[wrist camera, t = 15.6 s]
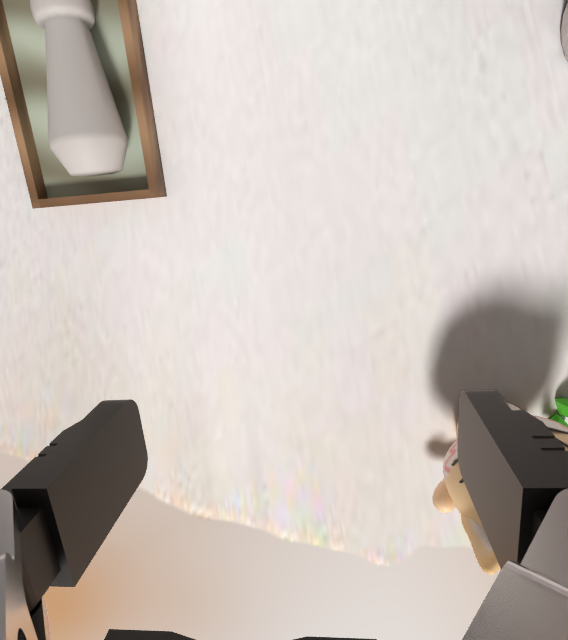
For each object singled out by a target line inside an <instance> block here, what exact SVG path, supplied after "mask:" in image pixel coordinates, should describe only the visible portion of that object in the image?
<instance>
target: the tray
mask: <svg viewBox="0 0 568 640" xmlns="http://www.w3.org/2000/svg"><path fill="white" fill-rule="evenodd" d="M91 2H92V5H93V8H94V15H95V22H94V25H93V27H92V28H91V29H89V30H90V33H91V35H92V38H93V41H94V44H95V47H96V50H97V53H98V55H99V58H100V61H101V64H102V67H103V70H104V73H105V75H106V78H107V81H108V84H109V87H110V90H111V92H112V95H113V98H114V101H115V104H116V107H117V110H118V112H119V115H120V118H121V121H122V124H123V127H124V130H125V132H126V135H127V141H128V146H127V151H126V156H125V162H124V167H123V170H122V171H119V172H117V173H114V174H108V175H99V176H71V175H70V174H69V173H68V171H67V170H66V168H65V167H64V166H63V165H62V163H61V162H60V161H59V159H58V158H57V157H56V156H55V154H54V153H53V152H52V150H51V148H50V146H49V143H48V102H47V72H46V46H45V29H43V28H41V27H40V26H39V25H38V24H37V23H36V21H35V20H34V18H33V15H32V11H31V8H30V0H0V75H1V79H2V83H3V87H4V92H5V96H6V100H7V104H8V108H9V112H10V116H11V120H12V125H13V129H14V133H15V137H16V141H17V145H18V149H19V153H20V158H21V162H22V166H23V170H24V174H25V178H26V182H27V186H28V191H29V195H30V199H31V203H32V207H33V208H44V207H55V206H66V205H77V204H88V203H100V202H111V201H122V200H133V199H145V198H156V197H165V196H167V195H166V189H165V182H164V176H163V170H162V163H161V157H160V150H159V144H158V138H157V131H156V125H155V119H154V112H153V106H152V99H151V93H150V87H149V80H148V74H147V68H146V61H145V55H144V48H143V42H142V36H141V29H140V23H139V17H138V10H137V4H136V0H91Z"/></svg>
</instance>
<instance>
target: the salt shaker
mask: <svg viewBox="0 0 568 640" xmlns="http://www.w3.org/2000/svg"><path fill="white" fill-rule="evenodd" d="M30 8H31V11H32V15H33V18H34V20H35V21H36V23H37V24H38V25H39V26H40V27H41V28H43V29H45V46H46V72H47V102H48V143H49V146H50V148H51V150H52V152H53V153H54V154H55V156H56V157H57V158H58V159H59V161H60V162H61V163H62V165H63V166H64V167H65V168H66V170H67V171H68V173H69V174H70V175H71V176H99V175H108V174H114V173H117V172H119V171H122V170H123V167H124V162H125V156H126V151H127V146H128V141H127V135H126V132H125V130H124V127H123V124H122V121H121V118H120V115H119V112H118V110H117V107H116V104H115V101H114V98H113V95H112V92H111V90H110V87H109V84H108V81H107V78H106V75H105V73H104V70H103V67H102V64H101V61H100V58H99V55H98V53H97V50H96V47H95V44H94V41H93V38H92V35H91V33H90V30H89V29H91V28H92V27H93V25H94V22H95V15H94V8H93V5H92V2H91V0H30Z"/></svg>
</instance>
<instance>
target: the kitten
mask: <svg viewBox="0 0 568 640" xmlns="http://www.w3.org/2000/svg"><path fill="white" fill-rule="evenodd" d="M555 401H556V405H557V409H558V413H559V414H561V415H563V416H566V417H568V400H567V399H566V398H557V399H555ZM505 402H506V401H505ZM506 403H507V402H506ZM507 404H508V406H509V407H510V408H511V410H521V409H519V408H518V407H516V406H515V405H512V404H510V403H507ZM534 417H536V418H537V419H539V420H541V421H543V422H544V424H545V425H546V426H547V427H548V428H549V430H550V431H551V432H552V433H553V434H554V435H555V439H558V440H559V441H560V442H561V444H562V445H563V446H564V447H565V451H568V424H567V423H566V422H565V421H564V420H563V419H562V418H561V417H560V416H559V415H558V414H556V413H555V415H554V416H553V417H552V418H550V419H547V418H544V417H539V416H534ZM456 434H457V440H456V441H455V442H454V443H453V444H452V446H451V447H450V448H449V450H448V452H447V454H446V456H445V459H444V464H443V474H444V479H443V480H442V481H441V482H440V483H439V484H438V486H437V487H436V489H435V490H434V493H433V504H434V506H435V507H436V509H437V510H439V511H440V512H443V513H449V512H451V511H453V509H454V508H455V506H456V508H457V509H458V511H459V513H460V514H461V520H462V524H463V527H464V529H465V531H466V533H467V535H468V537H469V539H470V542H471V545H472V547H473V550H474V553H475V556H476V558H477V560H478V563H479V565H480V567H481V568H482V570H483V571H484V572H485V573H487V574H495V573H496V572H497V571H498V570H499V569H501V568H500V566H499V563H498V561H497V559H496V556H495V554H494V552H493V549H492V547H491V545H490V542H489V540H488V537H487V535H486V533H485V530H484V528H483V526H482V523H481V521H480V519H479V516H478V514H477V511H476V509H475V507H474V504H473V502H472V500H471V497H470V495H469V493H468V490H467V488H466V486H465V483H464V481H463V478H462V476H461V473H460V468H459V463H458V452H457V446H458V423H457V427H456Z"/></svg>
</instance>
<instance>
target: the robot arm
mask: <svg viewBox="0 0 568 640" xmlns="http://www.w3.org/2000/svg"><path fill="white" fill-rule="evenodd" d="M561 38H562V47H563V50H564V54H565V57H566V59H567V61H568V2H567V5H566V8H565V10H564V13H563V20H562V26H561ZM457 452H458V463H459V468H460V473H461V476H462V478H463V481H464V483H465V486H466V488H467V490H468V493H469V495H470V497H471V500H472V502H473V504H474V507H475V509H476V511H477V514H478V516H479V519H480V521H481V523H482V526H483V528H484V530H485V533H486V535H487V537H488V540H489V542H490V545H491V547H492V549H493V552H494V554H495V556H496V559H497V561H498V563H499V566H500V568H501V571H500V573H499V575H498V576H497V578H496V580H495V582H494V584H493V585H492V587H491V589H490V591H489V592H488V594H487V596H486V598H485V600H484V601H483V603H482V605H481V607H480V609H479V610H478V612H477V614H476V616H475V618H474V619H473V621H472V623H471V625H470V627H469V629H468V630H467V632H466V634H465V635H464V637H463V639H462V640H568V451H565V447H564V446H563V445H562V444H561V442H560V441H559V440H558V439H555V435H554V434H553V433H552V432H551V431H550V430H549V428H548V427H547V426H546V425H545V424H544V422H543V421H541V420H539V419H537V418H536V417H534V416H532V415H531V414H529V413H527V412H525V411H524V410H511V408H510V407H509V406H508V404H507V403H506V402H505V400H504V399H503V398H502V397H501V395H500V394H499V393H498V391H497V390H462V391H461V392H460V396H459V412H458V446H457ZM147 461H148V457H147V449H146V445H145V440H144V435H143V430H142V425H141V420H140V415H139V410H138V406H137V404H136V403H135V401H133V400H105V401H102V402H100V403H99V404H98V405H97V406H96V407H95V408H94V409H93V410H92V411H91V412H90V413H89V414H88V415H87V416H86V417H85V418H84V419H83V420H81V421H80V422H78V423H76V424H74V425H73V426H71V427H69V428H67V429H66V430H64V431H63V432H61V433H60V434H59V435H58V436H57V437H56V438H55V439H54V440H53V441H52V442H51V443H50V446H47V447H45V448H44V449H43V450H42V451H41V452H40V453H39V454H38V457H35V458H34V459H33V460H32V461H31V462H29V463H28V464H27V465H26V466H25V467H24V468H23V469H22V470H21V471H20V472H19V473H18V474H17V475H16V476H15V477H14V478H13V479H11V480H10V481H9V482H8V483H7V484H6V485H5V486H4V487H3V488H2V489H0V640H50V632H49V624H48V615H47V607H46V603H45V600H44V597H43V595H44V594H45V592H46V591H47V589H48V588H49V586H59V587H75V585H76V584H77V582H78V581H79V579H80V578H81V576H82V574H83V573H84V571H85V570H86V568H87V567H88V565H89V563H90V562H91V560H92V559H93V557H94V555H95V554H96V552H97V551H98V549H99V548H100V546H101V544H102V543H103V541H104V540H105V538H106V536H107V535H108V533H109V532H110V530H111V529H112V527H113V525H114V523H115V522H116V521H117V519H118V518H119V516H120V514H121V513H122V511H123V509H124V508H125V507H126V505H127V503H128V502H129V500H130V498H131V497H132V495H133V494H134V492H135V491H136V489H137V488H138V486H139V484H140V483H141V481H142V480H143V478H144V476H145V473H146V469H147ZM104 640H195V639H192V638H189V637H186V636H183V635H180V634H177V633H174V632H169V631H166V632H165V631H141V630H115V629H109V631H108V633H107V635H106V637H105V639H104ZM294 640H376V639H356V638H329V637H303V638H299V639H294Z"/></svg>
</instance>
